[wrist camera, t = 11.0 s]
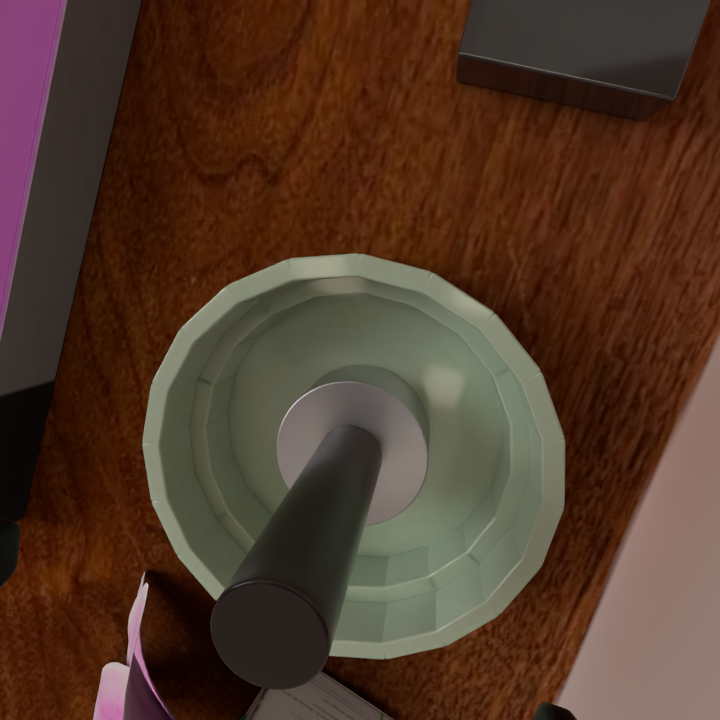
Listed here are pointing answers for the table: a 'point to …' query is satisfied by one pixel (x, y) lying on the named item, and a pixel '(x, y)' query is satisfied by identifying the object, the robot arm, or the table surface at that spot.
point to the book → (48, 197)
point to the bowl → (446, 442)
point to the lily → (131, 679)
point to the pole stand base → (583, 51)
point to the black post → (321, 521)
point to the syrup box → (313, 703)
